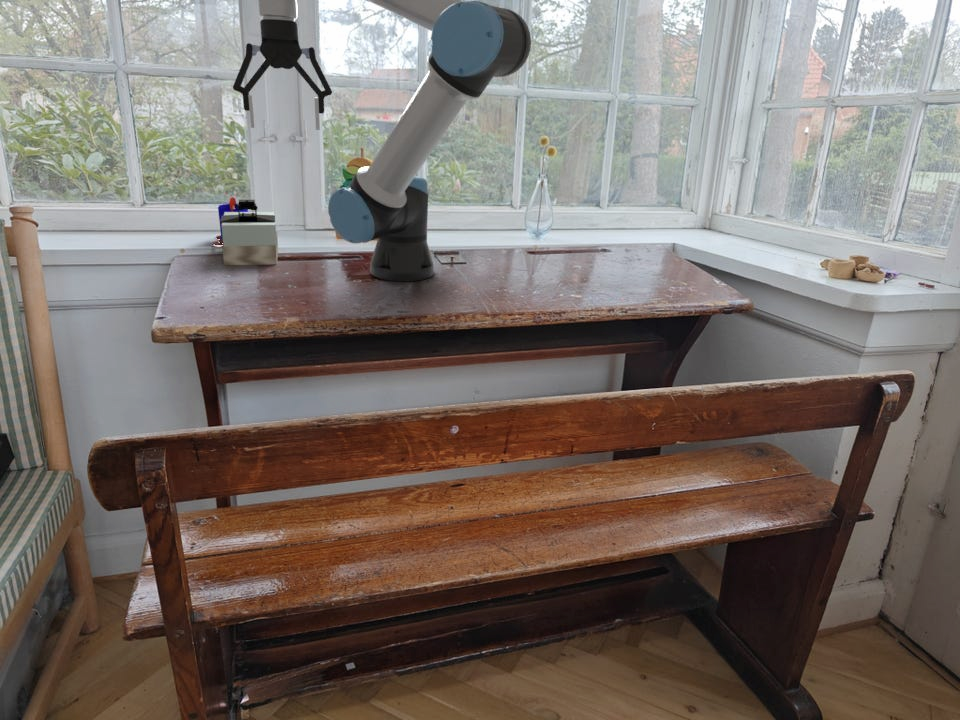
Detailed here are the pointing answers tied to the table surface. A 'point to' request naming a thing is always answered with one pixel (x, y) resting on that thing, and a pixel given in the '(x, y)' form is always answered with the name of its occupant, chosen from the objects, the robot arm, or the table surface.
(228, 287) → the table surface
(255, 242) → the top block
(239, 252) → the base block
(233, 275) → the table surface
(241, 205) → the build plate
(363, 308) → the table surface
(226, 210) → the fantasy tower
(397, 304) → the table surface
